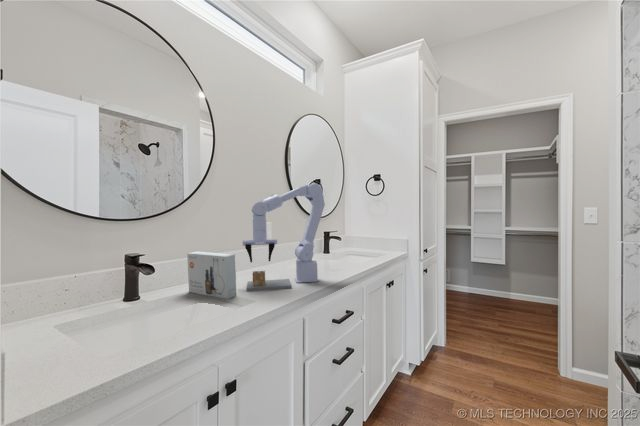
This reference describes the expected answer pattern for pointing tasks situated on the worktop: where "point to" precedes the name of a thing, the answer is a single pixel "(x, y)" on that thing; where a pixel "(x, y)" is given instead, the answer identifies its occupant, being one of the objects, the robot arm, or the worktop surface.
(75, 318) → the worktop surface
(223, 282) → the skincare box
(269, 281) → the grey flat block
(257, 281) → the oak bead
